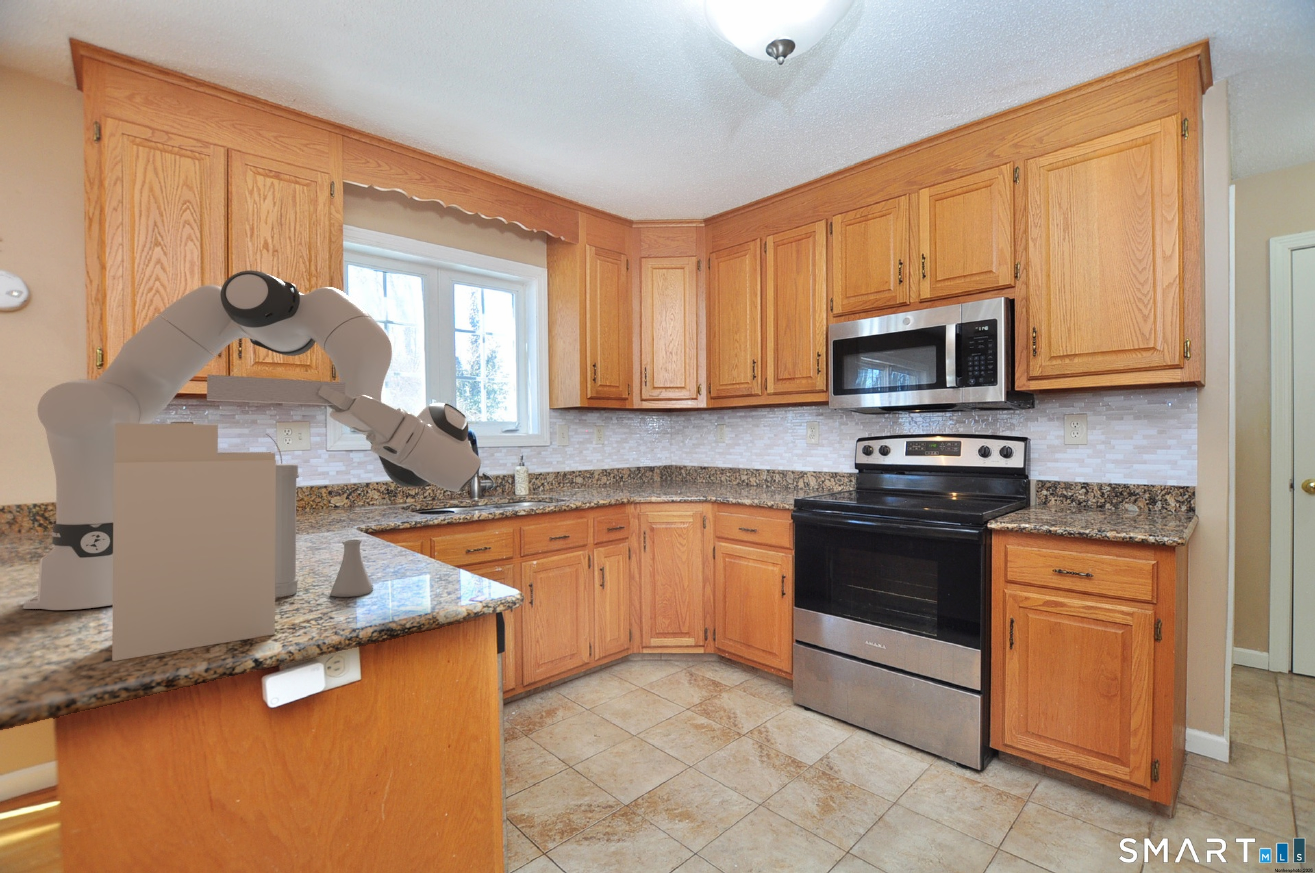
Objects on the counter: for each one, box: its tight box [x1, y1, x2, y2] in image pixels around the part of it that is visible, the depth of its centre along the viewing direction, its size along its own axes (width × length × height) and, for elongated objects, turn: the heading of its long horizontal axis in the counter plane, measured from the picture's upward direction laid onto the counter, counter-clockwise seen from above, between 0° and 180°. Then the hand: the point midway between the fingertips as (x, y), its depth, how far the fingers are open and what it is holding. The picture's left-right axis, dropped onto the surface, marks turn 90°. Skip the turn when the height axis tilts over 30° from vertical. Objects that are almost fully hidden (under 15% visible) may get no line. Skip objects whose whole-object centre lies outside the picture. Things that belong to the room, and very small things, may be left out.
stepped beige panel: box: [111, 423, 277, 662], centre depth 88 cm, size 10×18×31 cm, turn 128°
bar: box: [206, 373, 345, 406], centre depth 94 cm, size 4×18×4 cm, turn 128°
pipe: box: [265, 433, 300, 599], centre depth 112 cm, size 6×6×30 cm
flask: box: [329, 538, 374, 598], centre depth 113 cm, size 7×7×10 cm
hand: (316, 390), depth 97 cm, fingers closed on bar, 4 cm apart
